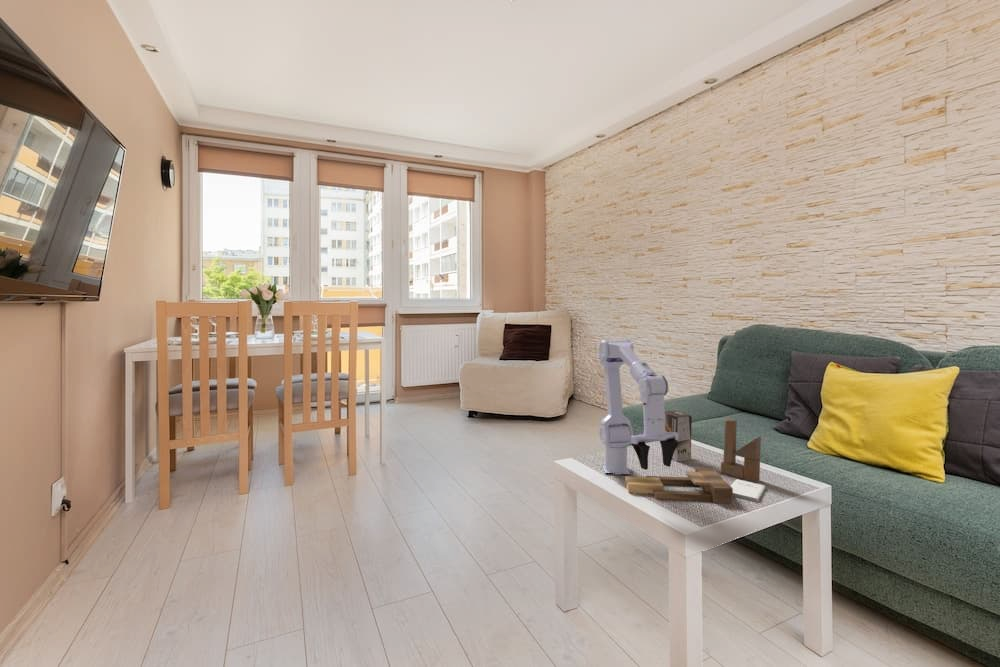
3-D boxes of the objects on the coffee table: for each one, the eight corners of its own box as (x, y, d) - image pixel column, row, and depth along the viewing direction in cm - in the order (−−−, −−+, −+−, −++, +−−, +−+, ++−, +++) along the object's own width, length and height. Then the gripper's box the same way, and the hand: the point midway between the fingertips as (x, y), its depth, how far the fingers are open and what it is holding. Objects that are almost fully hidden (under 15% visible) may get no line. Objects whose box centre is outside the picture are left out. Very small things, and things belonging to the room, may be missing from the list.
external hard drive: (725, 496, 134) (735, 483, 144) (757, 504, 129) (765, 490, 139) (726, 491, 134) (736, 478, 144) (757, 498, 129) (765, 484, 139)
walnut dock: (644, 479, 146) (644, 466, 146) (711, 481, 144) (711, 468, 144) (656, 500, 130) (657, 485, 130) (732, 503, 128) (732, 488, 128)
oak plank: (625, 485, 142) (625, 476, 142) (658, 487, 141) (658, 477, 141) (628, 493, 136) (628, 484, 136) (663, 495, 135) (663, 485, 135)
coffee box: (692, 460, 164) (693, 415, 163) (677, 461, 162) (677, 417, 161) (675, 452, 173) (675, 410, 172) (660, 453, 171) (661, 411, 170)
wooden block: (755, 483, 143) (756, 426, 142) (720, 473, 151) (721, 419, 150) (759, 480, 145) (761, 424, 144) (725, 470, 153) (727, 417, 152)
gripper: (640, 422, 123) (642, 473, 123) (685, 418, 128) (686, 467, 127) (625, 419, 130) (627, 467, 129) (668, 415, 134) (669, 462, 134)
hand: (655, 467), depth 129 cm, fingers open, 7 cm apart
